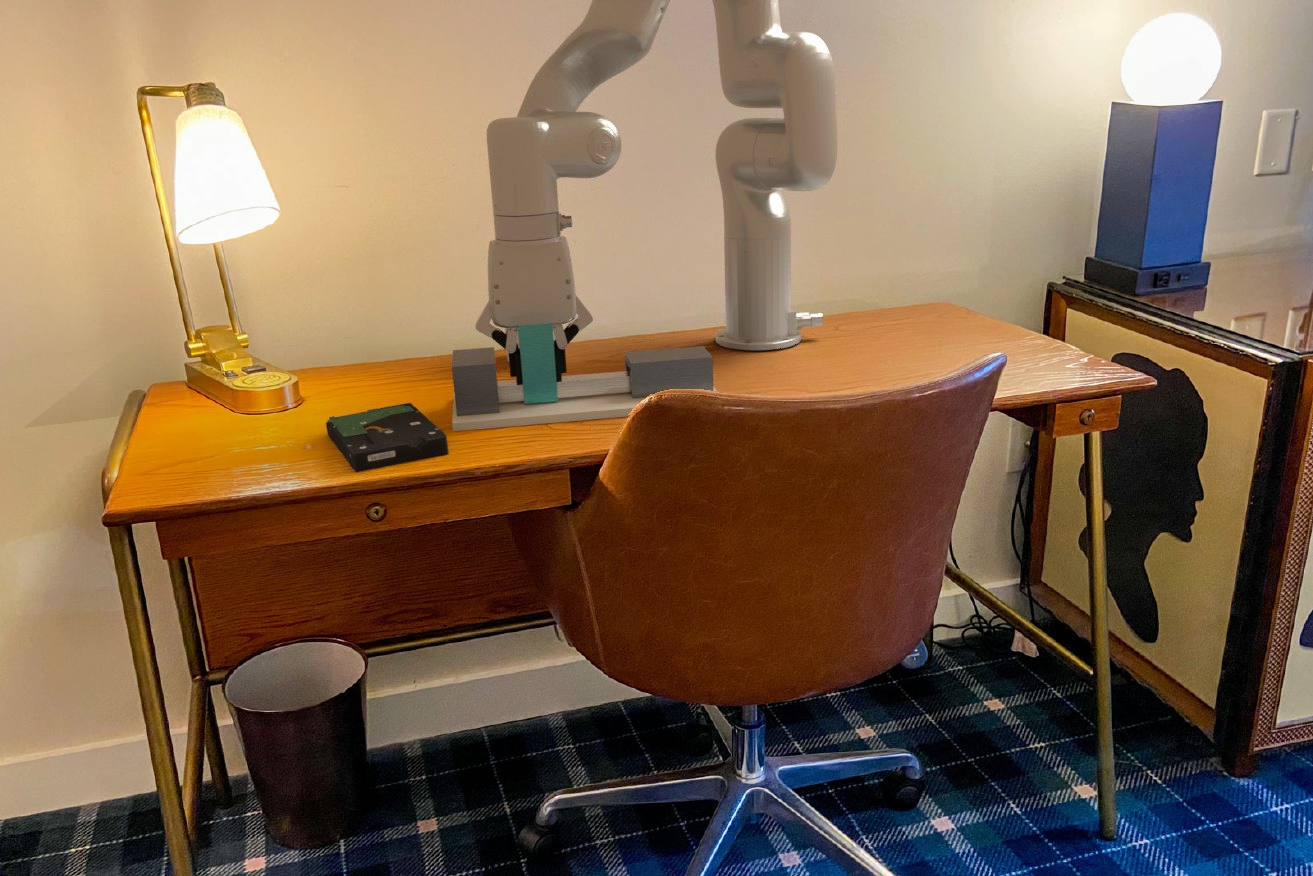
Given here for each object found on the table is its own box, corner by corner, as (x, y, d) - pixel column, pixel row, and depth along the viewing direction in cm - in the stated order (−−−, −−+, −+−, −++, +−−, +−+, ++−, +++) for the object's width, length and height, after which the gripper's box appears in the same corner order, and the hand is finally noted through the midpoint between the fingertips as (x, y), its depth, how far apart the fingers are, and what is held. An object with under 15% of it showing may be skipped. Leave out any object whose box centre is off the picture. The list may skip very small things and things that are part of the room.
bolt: (647, 384, 134) (643, 306, 130) (652, 393, 130) (648, 312, 127) (478, 398, 131) (470, 318, 127) (478, 407, 127) (470, 325, 124)
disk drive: (452, 459, 116) (412, 422, 128) (449, 435, 115) (410, 400, 127) (356, 478, 111) (325, 438, 124) (353, 453, 110) (322, 415, 123)
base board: (702, 379, 139) (702, 371, 139) (724, 408, 127) (724, 400, 127) (454, 399, 135) (454, 391, 135) (453, 431, 123) (452, 423, 122)
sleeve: (704, 379, 136) (703, 346, 134) (713, 391, 130) (712, 357, 129) (626, 386, 134) (624, 352, 133) (632, 398, 129) (631, 363, 127)
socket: (498, 393, 133) (494, 347, 131) (499, 412, 126) (495, 363, 124) (457, 397, 132) (453, 350, 130) (456, 416, 125) (451, 366, 123)
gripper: (595, 220, 128) (603, 367, 134) (454, 228, 126) (469, 377, 132) (602, 228, 121) (611, 383, 127) (453, 237, 118) (469, 394, 124)
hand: (538, 379), depth 129 cm, fingers closed on bolt, 4 cm apart
